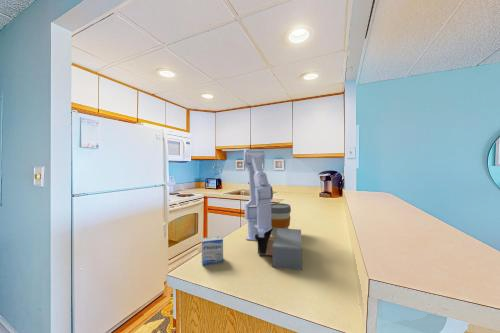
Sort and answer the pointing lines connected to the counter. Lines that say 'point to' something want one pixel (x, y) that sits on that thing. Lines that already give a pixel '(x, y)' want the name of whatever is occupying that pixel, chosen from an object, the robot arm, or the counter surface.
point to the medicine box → (212, 250)
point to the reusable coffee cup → (280, 217)
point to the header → (287, 249)
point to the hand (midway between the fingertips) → (264, 248)
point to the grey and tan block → (268, 247)
